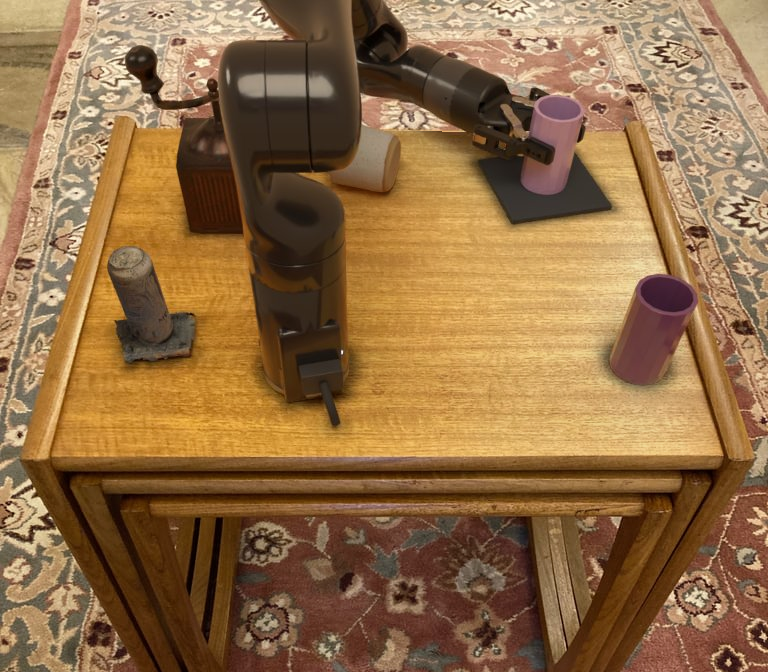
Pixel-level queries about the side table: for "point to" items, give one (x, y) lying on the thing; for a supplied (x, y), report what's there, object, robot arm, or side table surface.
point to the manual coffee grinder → (196, 153)
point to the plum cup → (652, 328)
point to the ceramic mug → (372, 162)
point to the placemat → (531, 206)
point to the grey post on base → (146, 310)
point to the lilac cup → (553, 143)
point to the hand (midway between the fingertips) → (567, 145)
